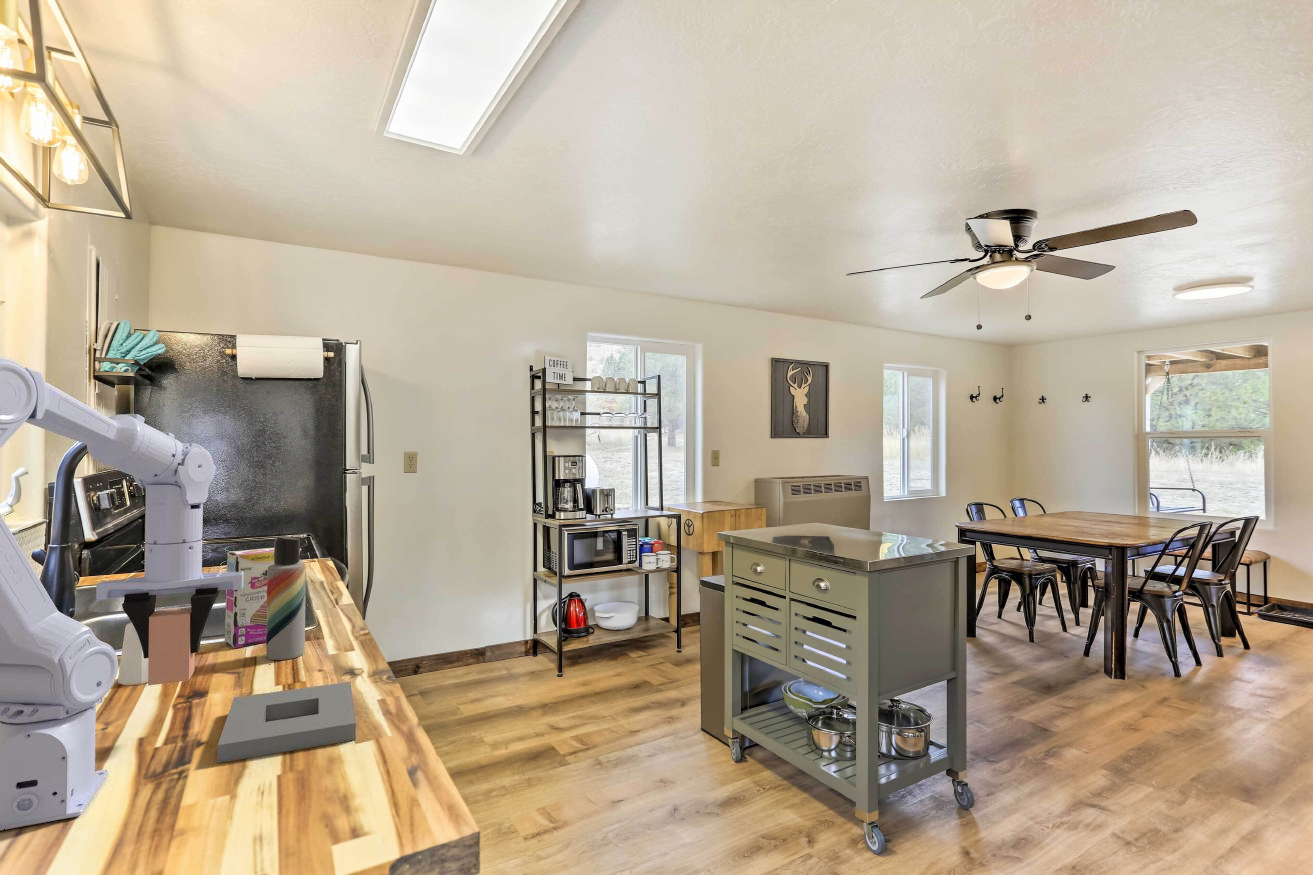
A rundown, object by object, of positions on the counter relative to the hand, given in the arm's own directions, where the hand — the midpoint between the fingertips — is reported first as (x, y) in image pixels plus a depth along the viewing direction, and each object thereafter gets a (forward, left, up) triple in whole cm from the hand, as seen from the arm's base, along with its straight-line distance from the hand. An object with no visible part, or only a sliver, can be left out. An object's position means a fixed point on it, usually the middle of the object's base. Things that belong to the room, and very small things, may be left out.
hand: (172, 653), depth 83 cm
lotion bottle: (+30, -11, -10) cm, 34 cm away
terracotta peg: (0, 0, -3) cm, 3 cm away
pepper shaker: (+26, +8, -10) cm, 29 cm away
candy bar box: (+42, -7, -10) cm, 44 cm away
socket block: (-3, -13, -10) cm, 17 cm away
